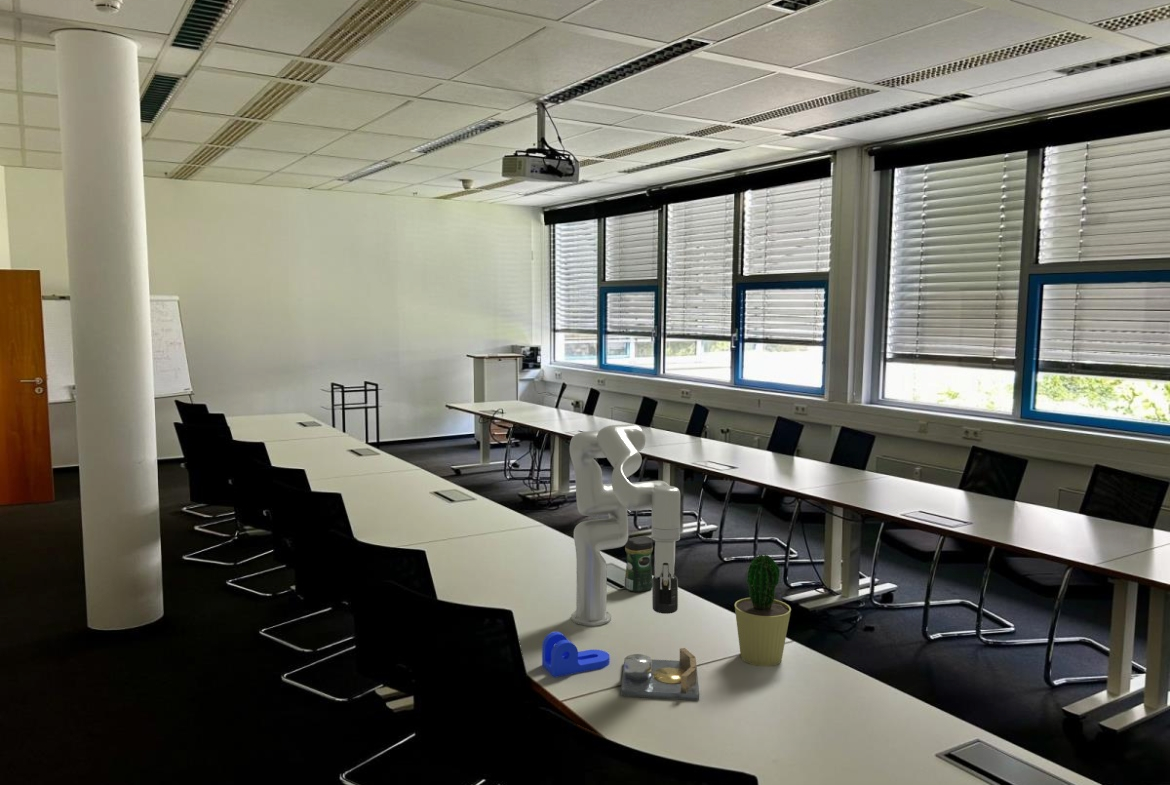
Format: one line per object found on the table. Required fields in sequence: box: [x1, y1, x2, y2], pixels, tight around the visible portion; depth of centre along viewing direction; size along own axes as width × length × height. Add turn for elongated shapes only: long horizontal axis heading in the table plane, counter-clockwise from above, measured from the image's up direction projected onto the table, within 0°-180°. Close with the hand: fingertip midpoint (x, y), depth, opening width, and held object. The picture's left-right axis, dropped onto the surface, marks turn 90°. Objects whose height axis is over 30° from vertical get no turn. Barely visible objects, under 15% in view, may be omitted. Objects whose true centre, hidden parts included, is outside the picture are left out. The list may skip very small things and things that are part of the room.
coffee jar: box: [624, 535, 654, 593], centre depth 284 cm, size 10×8×19 cm
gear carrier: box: [620, 647, 700, 701], centre depth 212 cm, size 20×20×6 cm
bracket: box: [541, 631, 611, 678], centre depth 221 cm, size 18×8×9 cm, turn 115°
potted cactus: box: [734, 554, 792, 667], centre depth 226 cm, size 15×15×30 cm
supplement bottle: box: [651, 574, 679, 615], centre depth 215 cm, size 7×7×12 cm
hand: (665, 598), depth 216 cm, fingers closed on supplement bottle, 6 cm apart
